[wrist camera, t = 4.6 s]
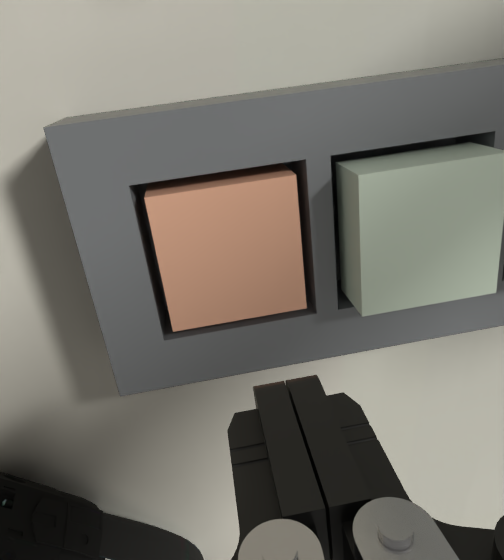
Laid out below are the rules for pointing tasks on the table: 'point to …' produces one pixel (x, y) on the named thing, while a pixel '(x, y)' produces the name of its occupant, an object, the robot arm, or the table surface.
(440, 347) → the table surface
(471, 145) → the sage key
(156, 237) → the terracotta key
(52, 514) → the virtual reality headset
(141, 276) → the panel
